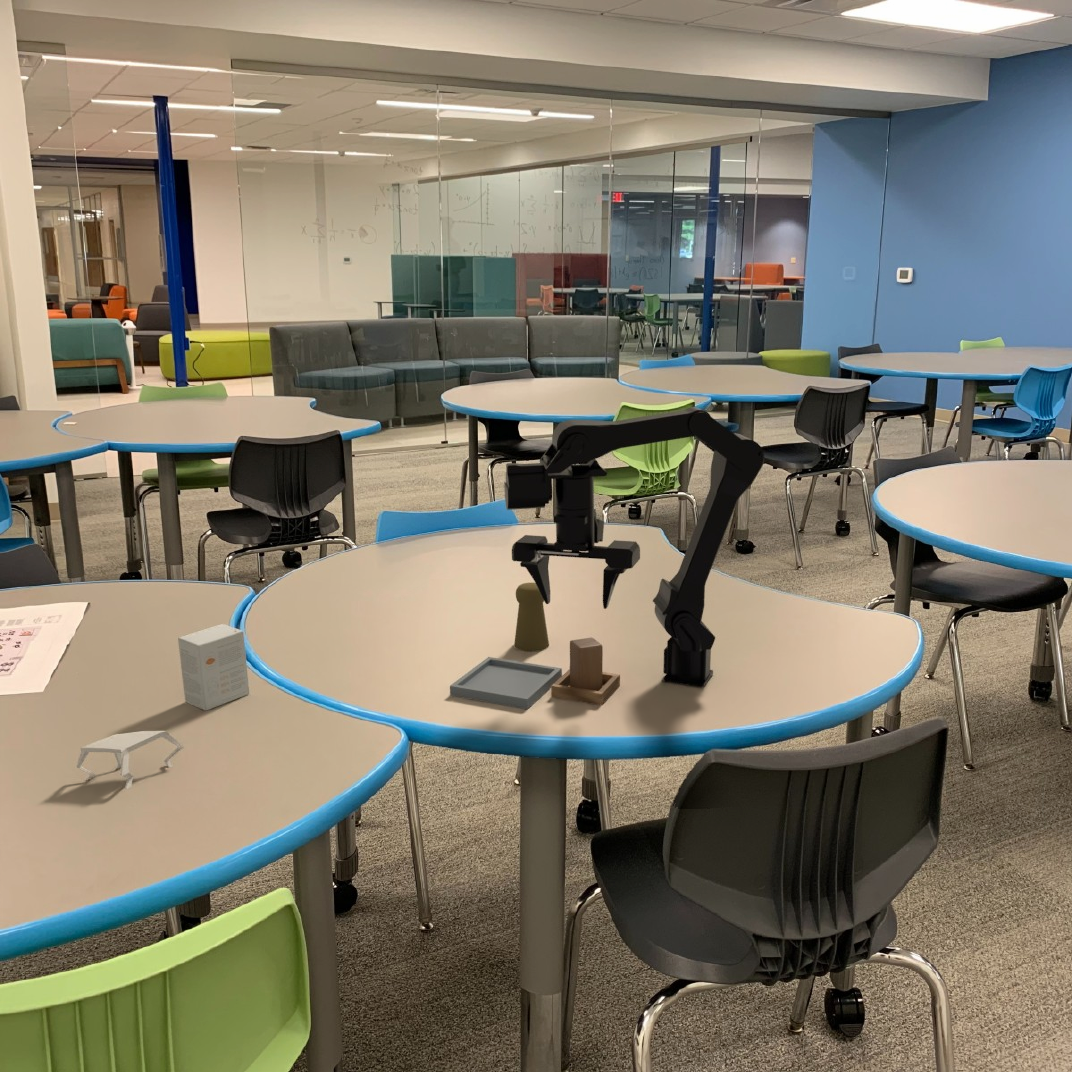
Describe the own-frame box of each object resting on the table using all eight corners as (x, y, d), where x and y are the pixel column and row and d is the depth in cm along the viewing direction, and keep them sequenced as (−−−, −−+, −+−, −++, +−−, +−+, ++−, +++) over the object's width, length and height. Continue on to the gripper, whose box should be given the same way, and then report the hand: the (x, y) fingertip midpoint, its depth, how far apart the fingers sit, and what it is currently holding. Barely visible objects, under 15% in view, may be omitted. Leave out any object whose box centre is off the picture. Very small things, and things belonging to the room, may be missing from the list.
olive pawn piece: (519, 653, 171) (517, 591, 168) (510, 641, 177) (509, 580, 174) (553, 649, 173) (552, 587, 170) (543, 637, 178) (542, 577, 176)
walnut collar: (619, 685, 157) (620, 674, 157) (601, 705, 150) (601, 694, 149) (571, 677, 160) (571, 667, 160) (551, 696, 153) (551, 685, 153)
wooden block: (569, 688, 156) (568, 639, 154) (592, 684, 158) (592, 636, 156) (579, 698, 153) (579, 648, 151) (603, 694, 154) (603, 644, 152)
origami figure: (100, 802, 124) (95, 765, 123) (76, 778, 130) (72, 743, 129) (193, 770, 132) (190, 735, 131) (167, 749, 138) (164, 715, 137)
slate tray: (561, 677, 160) (561, 668, 160) (527, 709, 149) (527, 699, 148) (488, 666, 166) (488, 656, 165) (450, 695, 154) (449, 685, 154)
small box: (229, 685, 159) (223, 622, 156) (250, 694, 156) (244, 630, 153) (183, 702, 153) (176, 636, 150) (204, 711, 150) (197, 645, 147)
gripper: (648, 497, 155) (648, 594, 159) (533, 492, 161) (535, 585, 165) (631, 513, 145) (631, 617, 148) (508, 507, 151) (512, 607, 154)
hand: (576, 605), depth 154 cm, fingers open, 9 cm apart
